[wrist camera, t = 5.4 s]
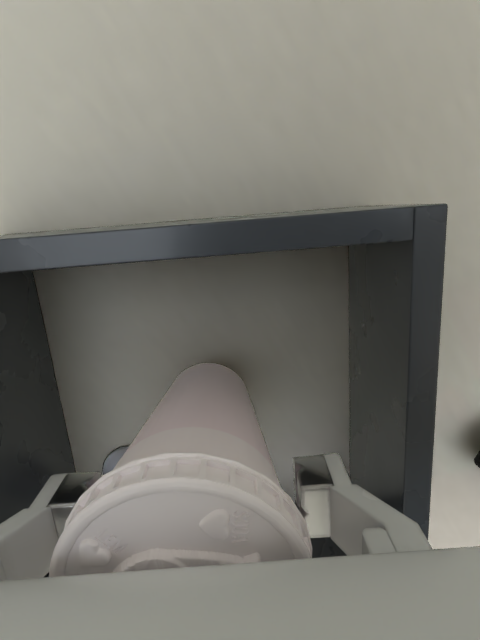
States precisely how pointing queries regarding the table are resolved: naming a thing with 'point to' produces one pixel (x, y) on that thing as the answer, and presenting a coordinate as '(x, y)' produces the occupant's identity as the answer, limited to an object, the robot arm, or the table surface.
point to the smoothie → (187, 490)
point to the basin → (242, 238)
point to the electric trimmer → (477, 459)
